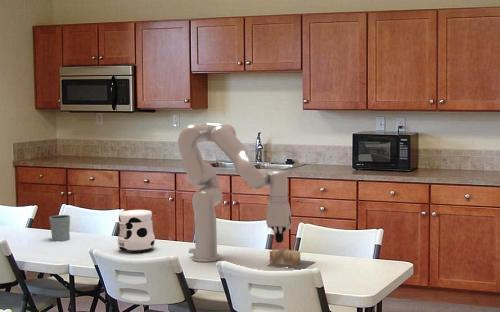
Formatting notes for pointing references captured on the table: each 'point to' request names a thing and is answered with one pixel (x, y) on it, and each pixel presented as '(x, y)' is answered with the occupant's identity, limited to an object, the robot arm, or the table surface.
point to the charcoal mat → (301, 265)
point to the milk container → (135, 231)
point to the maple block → (285, 257)
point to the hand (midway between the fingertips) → (279, 242)
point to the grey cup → (60, 227)
